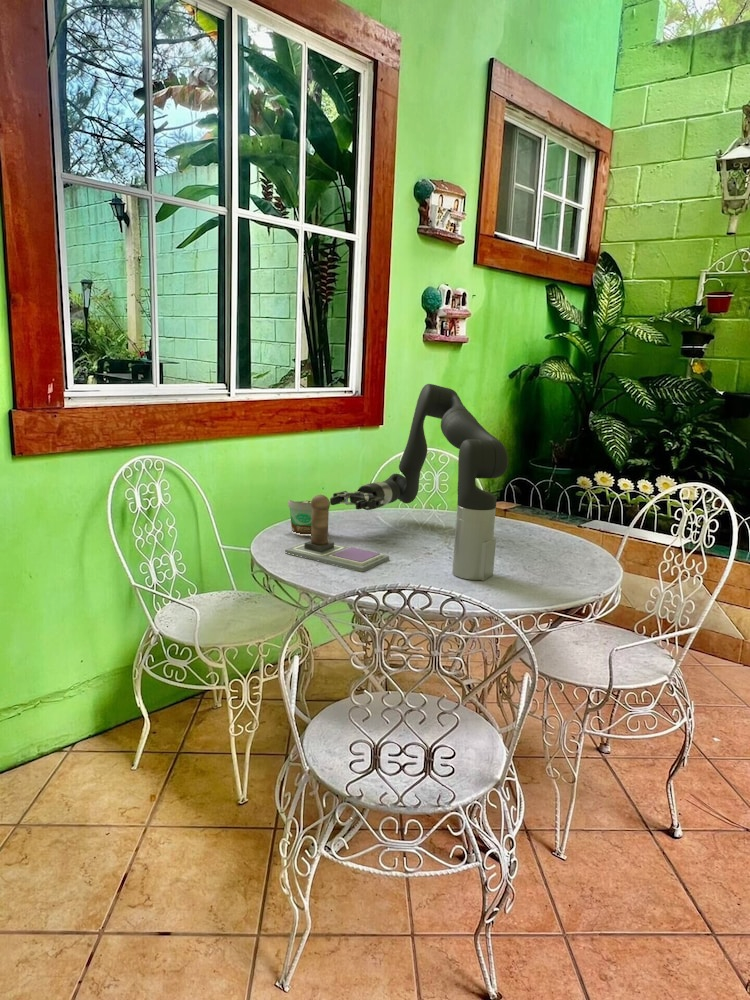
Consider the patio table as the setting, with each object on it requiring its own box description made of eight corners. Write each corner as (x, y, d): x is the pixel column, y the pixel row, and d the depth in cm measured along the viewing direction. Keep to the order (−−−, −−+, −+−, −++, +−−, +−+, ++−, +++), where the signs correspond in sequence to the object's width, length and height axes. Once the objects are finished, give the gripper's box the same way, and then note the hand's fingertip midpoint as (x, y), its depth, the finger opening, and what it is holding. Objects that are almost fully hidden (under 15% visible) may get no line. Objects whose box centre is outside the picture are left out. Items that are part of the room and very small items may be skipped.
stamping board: (389, 559, 168) (389, 552, 167) (362, 571, 157) (362, 564, 156) (315, 542, 180) (315, 536, 179) (285, 553, 169) (285, 546, 168)
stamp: (333, 547, 172) (335, 494, 169) (321, 552, 168) (323, 498, 165) (317, 544, 175) (318, 491, 172) (304, 548, 170) (305, 494, 167)
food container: (284, 536, 185) (285, 502, 182) (286, 531, 191) (287, 498, 188) (327, 538, 185) (328, 504, 183) (328, 532, 191) (329, 499, 189)
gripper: (355, 480, 195) (323, 487, 181) (396, 486, 187) (366, 493, 174) (354, 504, 196) (322, 513, 182) (394, 511, 189) (365, 520, 175)
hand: (344, 503), depth 178 cm, fingers open, 8 cm apart
